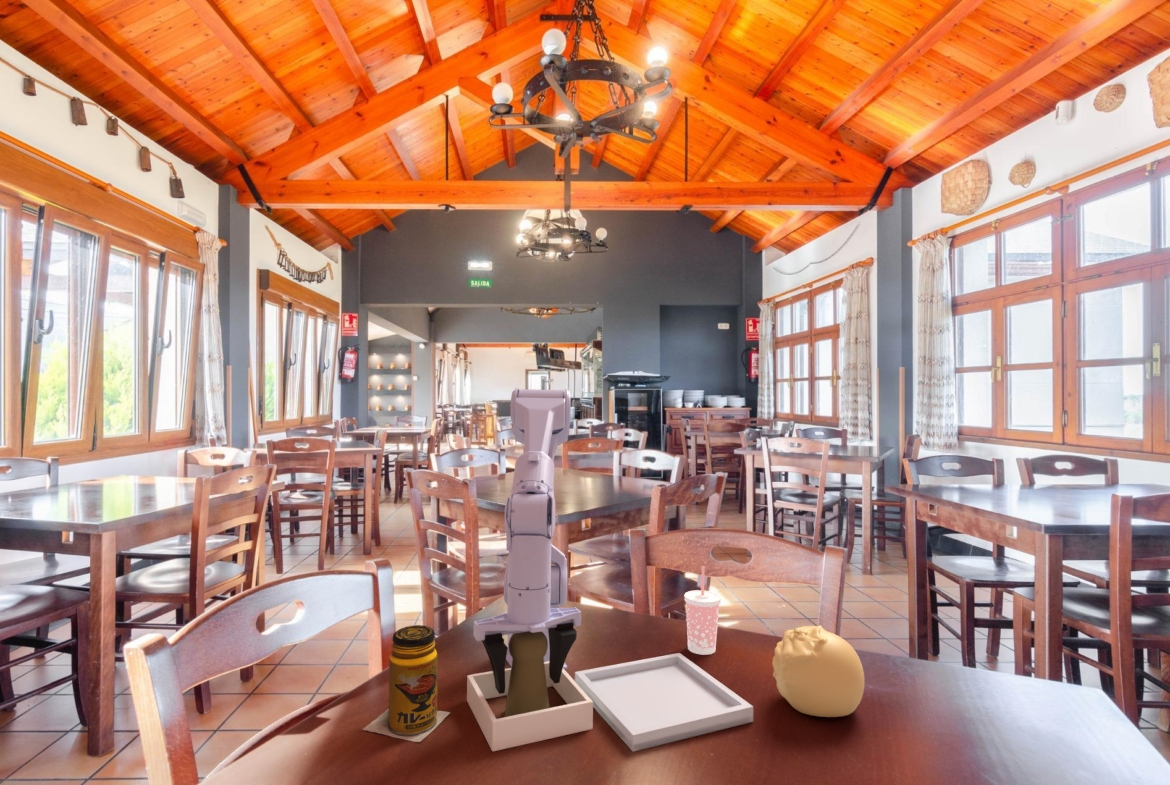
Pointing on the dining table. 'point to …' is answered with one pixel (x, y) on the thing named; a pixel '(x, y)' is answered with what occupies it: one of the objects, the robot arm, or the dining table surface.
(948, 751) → the dining table surface
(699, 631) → the beverage cup
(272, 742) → the dining table surface
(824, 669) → the sculpture
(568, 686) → the cream bin
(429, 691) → the condiment
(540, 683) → the cork
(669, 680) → the light grey tray
